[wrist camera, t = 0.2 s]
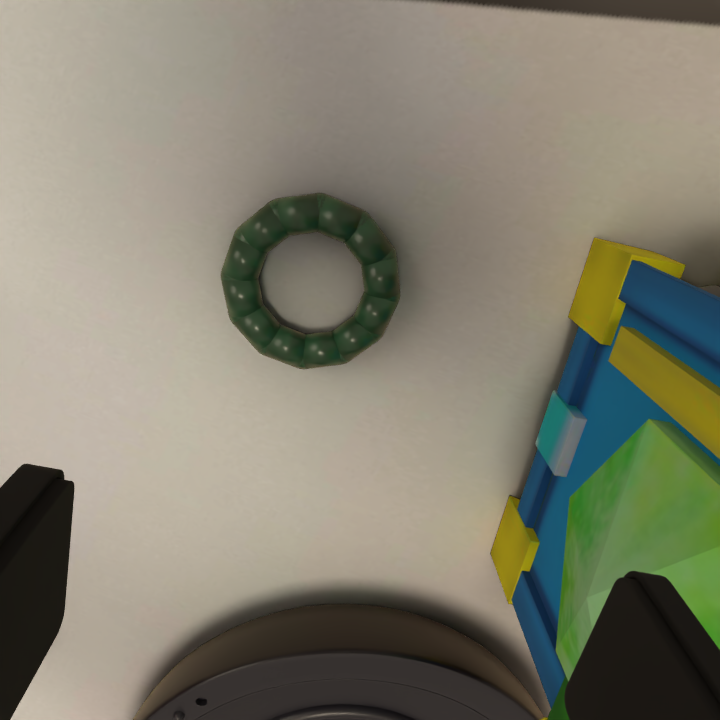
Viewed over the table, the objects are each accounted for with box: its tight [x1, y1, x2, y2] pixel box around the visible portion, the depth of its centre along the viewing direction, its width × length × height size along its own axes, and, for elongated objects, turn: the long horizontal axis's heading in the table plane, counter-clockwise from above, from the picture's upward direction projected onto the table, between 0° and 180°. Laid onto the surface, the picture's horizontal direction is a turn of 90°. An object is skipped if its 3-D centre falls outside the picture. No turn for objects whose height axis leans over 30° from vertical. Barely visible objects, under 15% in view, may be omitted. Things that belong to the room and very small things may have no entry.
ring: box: [221, 193, 400, 369], centre depth 31 cm, size 9×9×2 cm
